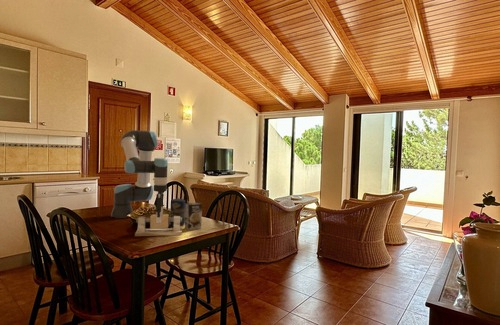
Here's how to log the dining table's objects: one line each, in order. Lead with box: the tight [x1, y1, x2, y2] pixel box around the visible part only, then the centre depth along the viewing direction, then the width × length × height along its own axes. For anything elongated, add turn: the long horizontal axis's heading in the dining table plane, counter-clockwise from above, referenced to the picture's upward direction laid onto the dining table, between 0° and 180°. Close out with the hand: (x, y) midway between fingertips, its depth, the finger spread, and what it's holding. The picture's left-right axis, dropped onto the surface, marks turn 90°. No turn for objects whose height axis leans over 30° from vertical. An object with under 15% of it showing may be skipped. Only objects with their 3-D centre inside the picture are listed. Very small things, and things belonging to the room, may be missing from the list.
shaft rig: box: [134, 216, 183, 237], centre depth 176 cm, size 10×26×10 cm, turn 103°
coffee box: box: [184, 202, 203, 231], centre depth 189 cm, size 9×6×16 cm
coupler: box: [149, 213, 170, 229], centre depth 176 cm, size 6×10×7 cm, turn 103°
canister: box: [169, 197, 186, 226], centre depth 198 cm, size 10×10×18 cm
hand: (159, 219), depth 176 cm, fingers open, 13 cm apart
